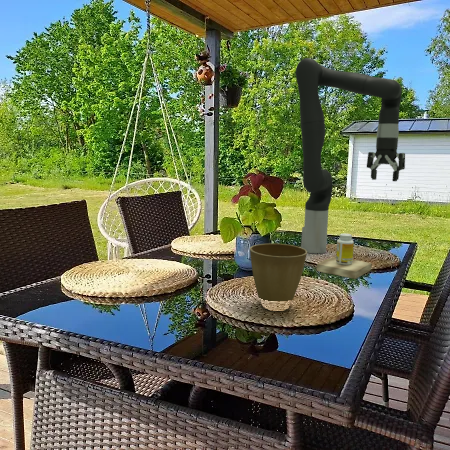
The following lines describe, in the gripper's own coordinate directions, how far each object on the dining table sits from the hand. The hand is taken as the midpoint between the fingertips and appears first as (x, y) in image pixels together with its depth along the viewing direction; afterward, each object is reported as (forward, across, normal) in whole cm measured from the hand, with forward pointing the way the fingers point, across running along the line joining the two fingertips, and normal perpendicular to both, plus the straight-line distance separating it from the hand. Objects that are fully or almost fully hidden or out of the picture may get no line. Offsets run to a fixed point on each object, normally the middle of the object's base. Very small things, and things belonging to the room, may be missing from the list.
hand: (384, 180), depth 173 cm
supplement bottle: (+28, +2, -26) cm, 38 cm away
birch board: (+30, +2, -26) cm, 40 cm away
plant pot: (+30, +11, -71) cm, 78 cm away
